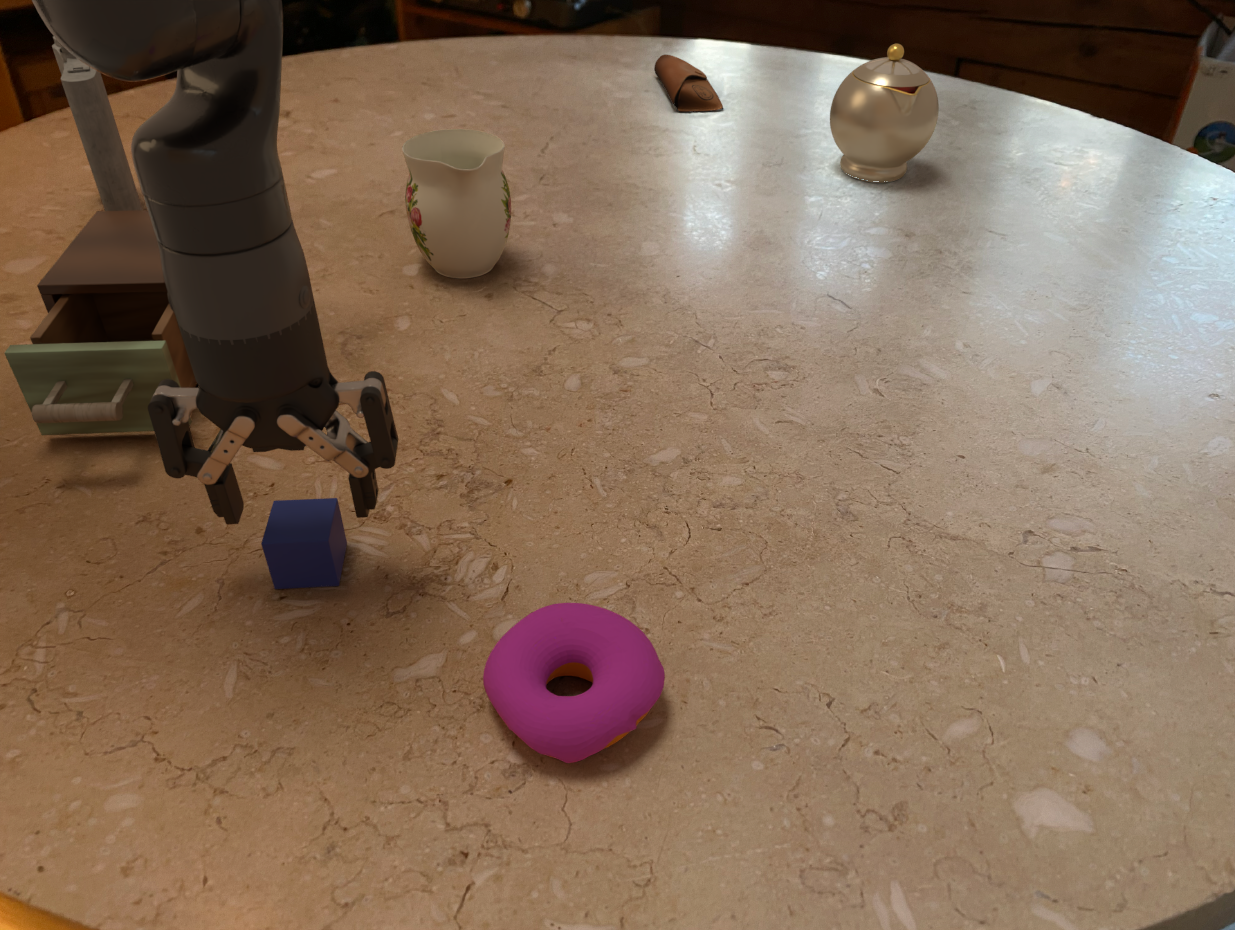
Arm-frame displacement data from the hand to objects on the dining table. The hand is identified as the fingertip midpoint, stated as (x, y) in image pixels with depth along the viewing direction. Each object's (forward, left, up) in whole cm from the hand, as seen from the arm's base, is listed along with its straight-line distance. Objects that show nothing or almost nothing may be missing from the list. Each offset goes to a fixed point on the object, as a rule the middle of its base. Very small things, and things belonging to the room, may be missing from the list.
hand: (300, 513), depth 64 cm
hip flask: (-31, +61, -5) cm, 69 cm away
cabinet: (-18, +32, -5) cm, 37 cm away
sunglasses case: (+43, +104, -5) cm, 113 cm away
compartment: (-18, +20, -4) cm, 27 cm away
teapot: (+63, +72, -5) cm, 96 cm away
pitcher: (+9, +47, -5) cm, 48 cm away
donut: (+18, -13, -5) cm, 23 cm away
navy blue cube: (0, 0, -5) cm, 5 cm away
